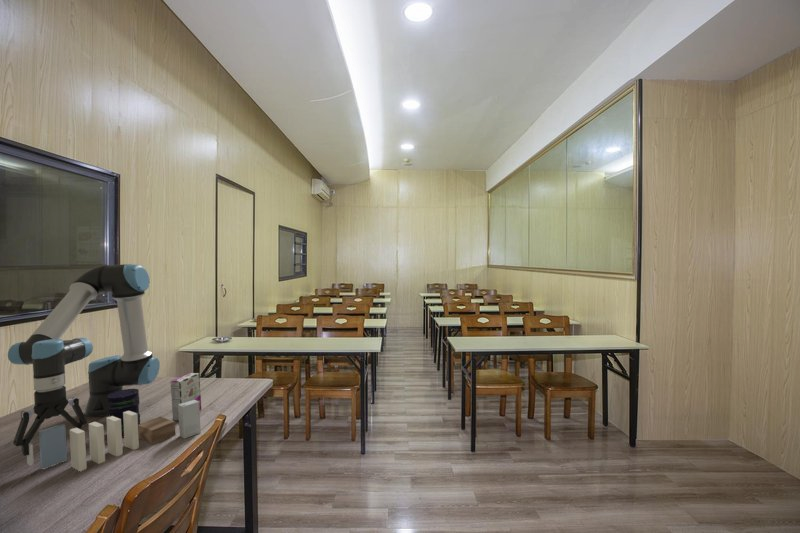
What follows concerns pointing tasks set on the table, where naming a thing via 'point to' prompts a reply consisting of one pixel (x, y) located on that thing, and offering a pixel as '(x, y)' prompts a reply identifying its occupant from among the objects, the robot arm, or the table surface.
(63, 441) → the tile
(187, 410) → the skincare box
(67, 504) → the table surface
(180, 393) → the candy bar box
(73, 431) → the tile
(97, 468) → the table surface
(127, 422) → the tile
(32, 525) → the table surface
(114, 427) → the tile
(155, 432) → the end block
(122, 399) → the storage jar
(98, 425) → the tile
